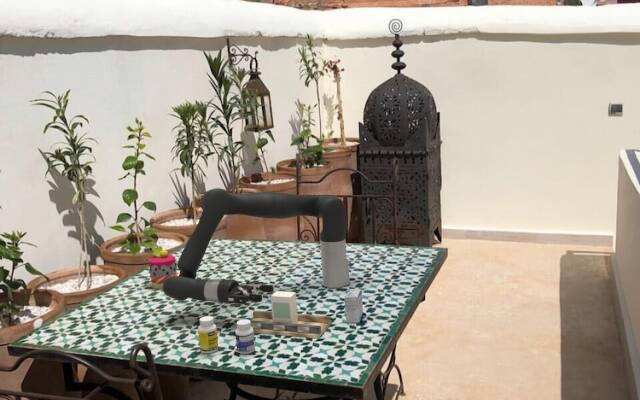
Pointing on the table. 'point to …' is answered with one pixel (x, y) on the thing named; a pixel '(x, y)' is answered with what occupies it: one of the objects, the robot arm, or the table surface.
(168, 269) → the cake
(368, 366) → the table surface
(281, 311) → the carton
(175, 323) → the table surface
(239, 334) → the pill bottle
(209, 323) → the supplement bottle
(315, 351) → the table surface
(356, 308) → the medicine box
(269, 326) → the shelf ledge
